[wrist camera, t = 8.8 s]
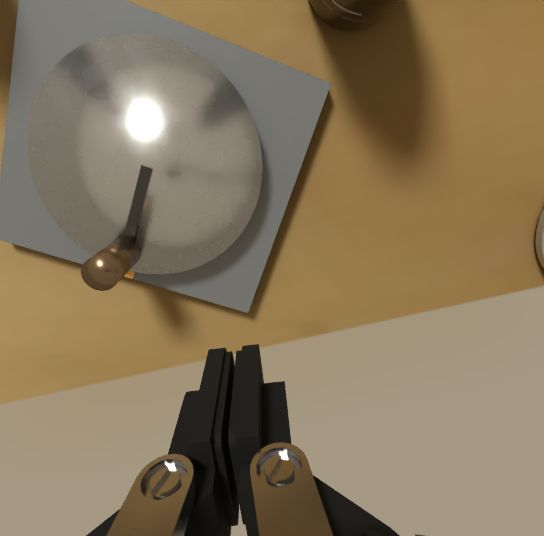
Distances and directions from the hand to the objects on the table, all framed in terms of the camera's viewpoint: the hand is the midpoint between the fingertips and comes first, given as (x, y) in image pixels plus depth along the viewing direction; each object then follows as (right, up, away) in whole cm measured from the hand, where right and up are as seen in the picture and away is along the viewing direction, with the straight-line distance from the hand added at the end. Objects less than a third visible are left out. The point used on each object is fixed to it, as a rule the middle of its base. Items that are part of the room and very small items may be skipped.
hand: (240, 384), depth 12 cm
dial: (-8, +12, +16) cm, 22 cm away
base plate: (-8, +13, +18) cm, 23 cm away
